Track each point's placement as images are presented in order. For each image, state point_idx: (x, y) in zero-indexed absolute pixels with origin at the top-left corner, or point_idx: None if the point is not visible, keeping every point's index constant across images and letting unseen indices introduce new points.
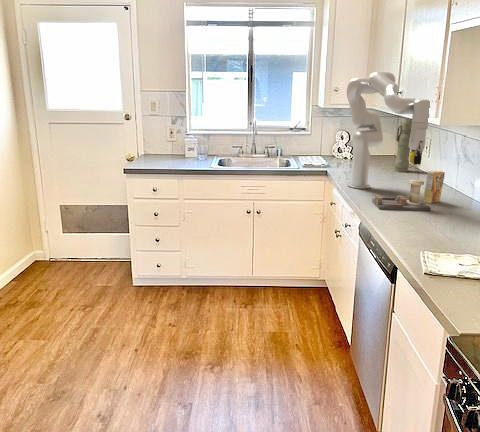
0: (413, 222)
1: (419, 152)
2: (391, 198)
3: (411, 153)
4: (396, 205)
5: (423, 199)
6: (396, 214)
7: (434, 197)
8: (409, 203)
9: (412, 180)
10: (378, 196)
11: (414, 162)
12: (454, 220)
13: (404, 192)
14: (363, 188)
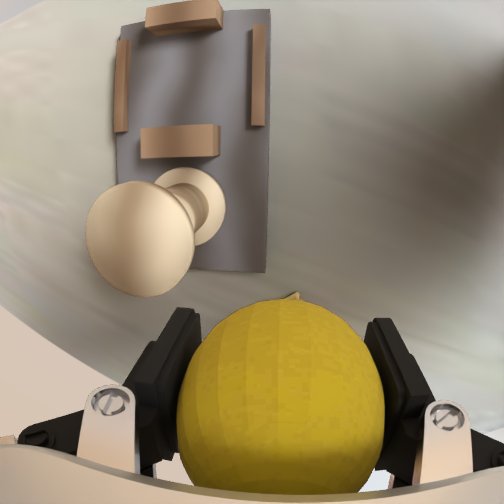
0: (2, 145)
1: (29, 443)
2: (252, 101)
3: (273, 399)
4: (116, 100)
5: (296, 296)
6: (66, 95)
7: None
8: (160, 177)
9: (165, 224)
10: (180, 10)
11: (172, 321)
12: (47, 293)
13: (471, 264)
14: None
